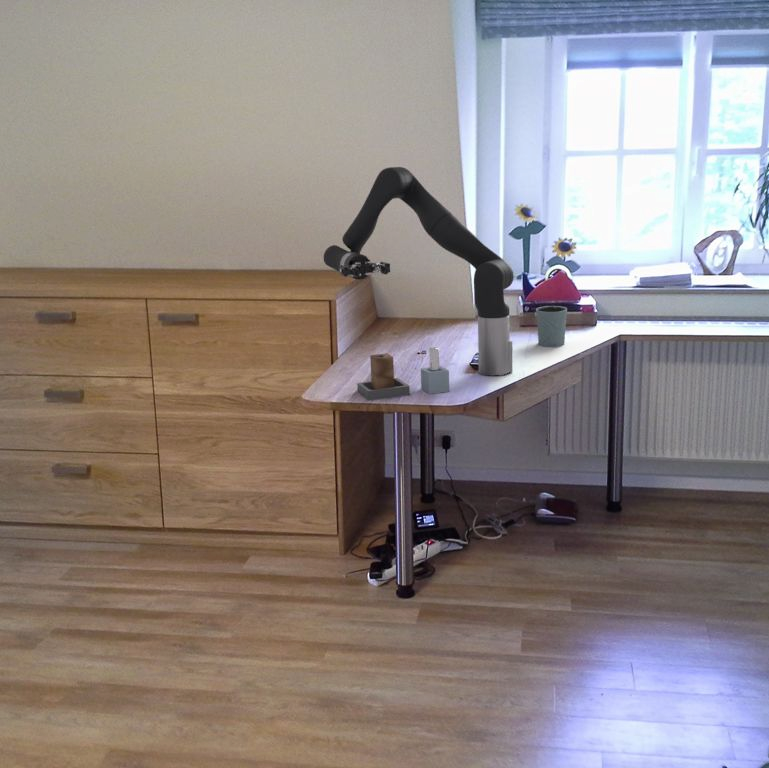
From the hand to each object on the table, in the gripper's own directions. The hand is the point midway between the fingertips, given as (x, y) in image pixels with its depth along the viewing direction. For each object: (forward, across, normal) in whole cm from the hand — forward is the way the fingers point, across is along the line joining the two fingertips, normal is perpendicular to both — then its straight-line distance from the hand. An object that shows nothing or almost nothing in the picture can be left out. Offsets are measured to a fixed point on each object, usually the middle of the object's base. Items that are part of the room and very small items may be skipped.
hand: (372, 272), depth 263 cm
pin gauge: (+18, +11, +32) cm, 38 cm away
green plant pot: (-17, +67, +32) cm, 76 cm away
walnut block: (+14, -3, +31) cm, 35 cm away
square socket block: (+18, +11, +32) cm, 38 cm away
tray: (+14, -3, +32) cm, 35 cm away
